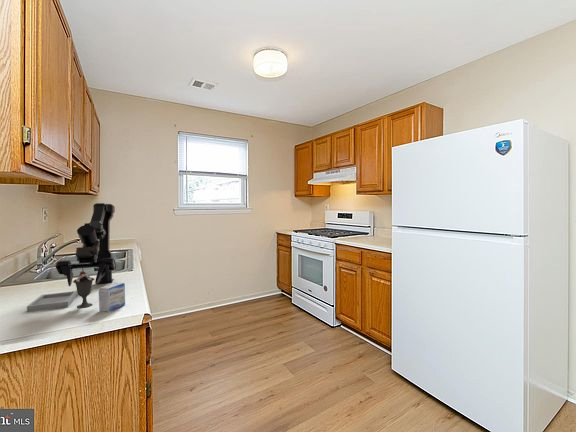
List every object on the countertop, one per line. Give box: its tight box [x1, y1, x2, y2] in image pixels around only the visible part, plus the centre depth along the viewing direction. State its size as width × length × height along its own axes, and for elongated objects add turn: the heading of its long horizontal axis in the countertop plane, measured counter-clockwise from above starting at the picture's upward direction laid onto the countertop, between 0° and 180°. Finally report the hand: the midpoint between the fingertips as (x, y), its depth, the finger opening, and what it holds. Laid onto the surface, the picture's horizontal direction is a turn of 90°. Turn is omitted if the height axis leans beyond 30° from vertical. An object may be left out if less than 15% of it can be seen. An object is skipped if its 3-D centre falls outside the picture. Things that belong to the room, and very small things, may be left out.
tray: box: [26, 290, 79, 313], centre depth 112 cm, size 15×12×2 cm
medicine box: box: [98, 282, 126, 313], centre depth 107 cm, size 8×4×9 cm, turn 168°
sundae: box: [72, 267, 95, 309], centre depth 109 cm, size 7×7×15 cm
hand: (82, 284), depth 108 cm, fingers open, 8 cm apart
